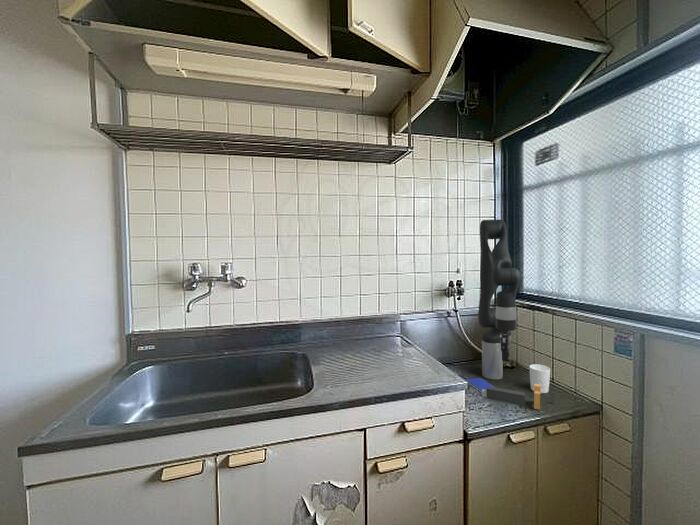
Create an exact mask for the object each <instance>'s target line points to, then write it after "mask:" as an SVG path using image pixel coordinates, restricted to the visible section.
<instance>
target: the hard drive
mask: <svg viewBox="0 0 700 525" xmlns="http://www.w3.org/2000/svg"><path fill="white" fill-rule="evenodd" d="M466 381H468V382H469V384H468V385H469V386H471V385H472V386H473V388H474V389H475V388H476V389H475V390H477V391H478V390H479V391H478V392H480V393H481V394H482V389H486V390H487V386H491V387H495V386H494V385H493V384H491V383H489V382H488V381H486V380H484V378H481V377H476V378H468V379H465V382H466ZM472 386H471V387H472Z"/></svg>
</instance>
